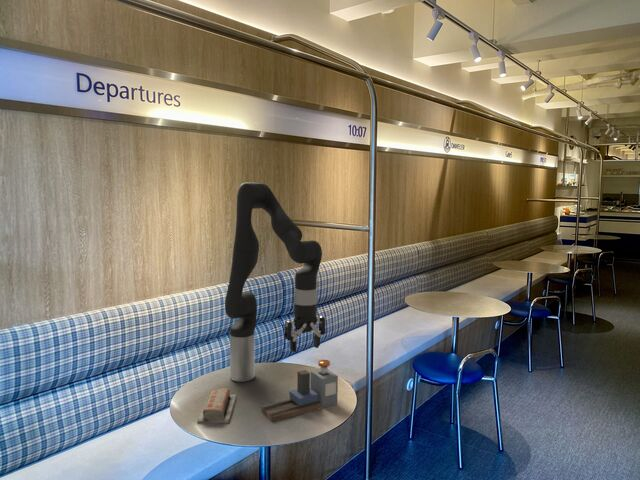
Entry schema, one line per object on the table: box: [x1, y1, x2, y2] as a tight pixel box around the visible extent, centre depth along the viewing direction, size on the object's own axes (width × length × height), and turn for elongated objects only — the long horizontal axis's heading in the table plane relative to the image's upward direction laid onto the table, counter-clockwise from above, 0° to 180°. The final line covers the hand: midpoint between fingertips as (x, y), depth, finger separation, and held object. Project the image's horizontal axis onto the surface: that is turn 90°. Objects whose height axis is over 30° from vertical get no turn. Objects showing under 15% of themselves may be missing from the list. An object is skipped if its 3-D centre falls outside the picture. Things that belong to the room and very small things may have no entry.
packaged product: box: [196, 387, 237, 424], centre depth 156 cm, size 18×5×10 cm
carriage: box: [288, 369, 318, 406], centre depth 158 cm, size 7×7×9 cm
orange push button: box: [317, 359, 331, 376], centre depth 162 cm, size 4×4×6 cm
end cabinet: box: [310, 368, 339, 409], centre depth 162 cm, size 8×6×10 cm
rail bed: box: [261, 398, 322, 422], centre depth 156 cm, size 8×18×2 cm, turn 121°
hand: (305, 349), depth 157 cm, fingers open, 8 cm apart
